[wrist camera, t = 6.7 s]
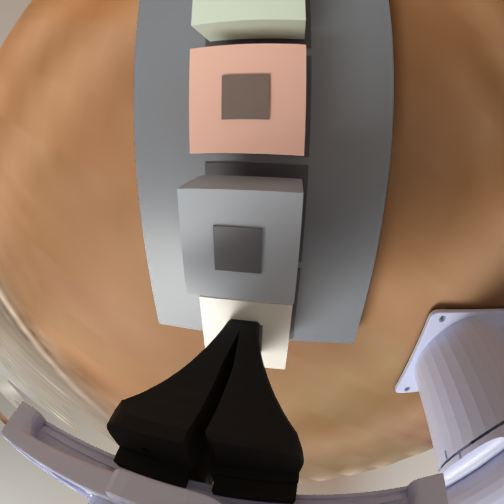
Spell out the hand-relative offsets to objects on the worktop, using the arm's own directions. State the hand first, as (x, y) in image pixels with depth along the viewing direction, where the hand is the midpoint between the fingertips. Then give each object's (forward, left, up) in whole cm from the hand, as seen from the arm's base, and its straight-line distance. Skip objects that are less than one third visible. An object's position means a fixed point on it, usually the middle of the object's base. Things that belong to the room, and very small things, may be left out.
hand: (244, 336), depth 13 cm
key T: (0, -10, -2) cm, 10 cm away
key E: (0, -15, -2) cm, 15 cm away
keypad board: (0, -7, -4) cm, 8 cm away
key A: (0, 0, -2) cm, 2 cm away
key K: (0, -5, -1) cm, 5 cm away
